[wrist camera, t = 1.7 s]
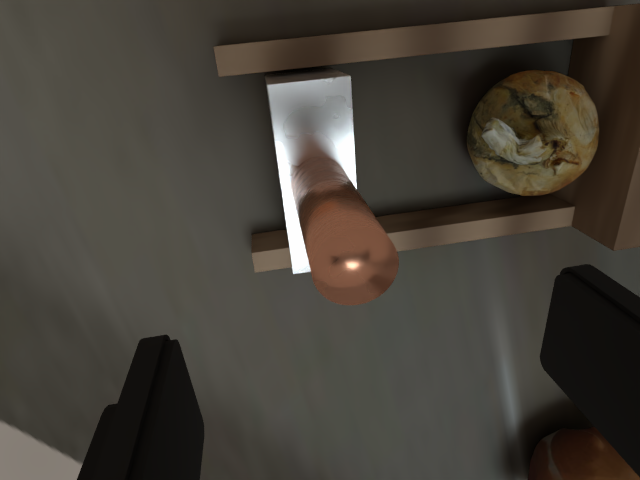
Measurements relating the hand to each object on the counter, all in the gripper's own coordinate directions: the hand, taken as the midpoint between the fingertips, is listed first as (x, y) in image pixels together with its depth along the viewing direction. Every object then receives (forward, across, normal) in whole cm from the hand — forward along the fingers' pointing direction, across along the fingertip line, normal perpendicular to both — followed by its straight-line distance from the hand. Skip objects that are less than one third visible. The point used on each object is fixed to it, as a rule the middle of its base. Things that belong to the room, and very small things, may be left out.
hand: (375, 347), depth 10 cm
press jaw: (+19, -1, 0) cm, 19 cm away
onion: (+20, -15, 0) cm, 25 cm away
